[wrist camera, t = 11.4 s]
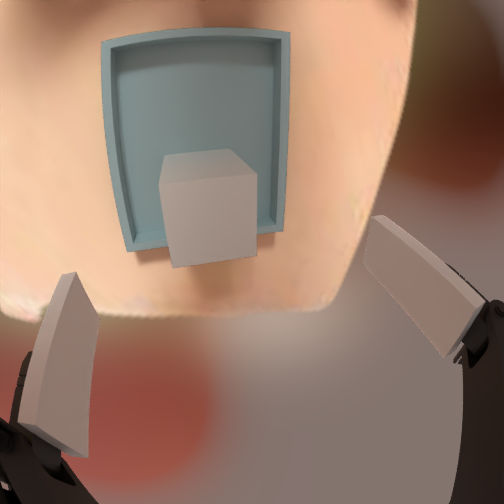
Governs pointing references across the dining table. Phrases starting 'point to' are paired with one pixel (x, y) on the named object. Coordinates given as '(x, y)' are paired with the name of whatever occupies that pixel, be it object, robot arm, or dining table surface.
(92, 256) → the dining table surface
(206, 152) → the beige boxy piece
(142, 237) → the tray
